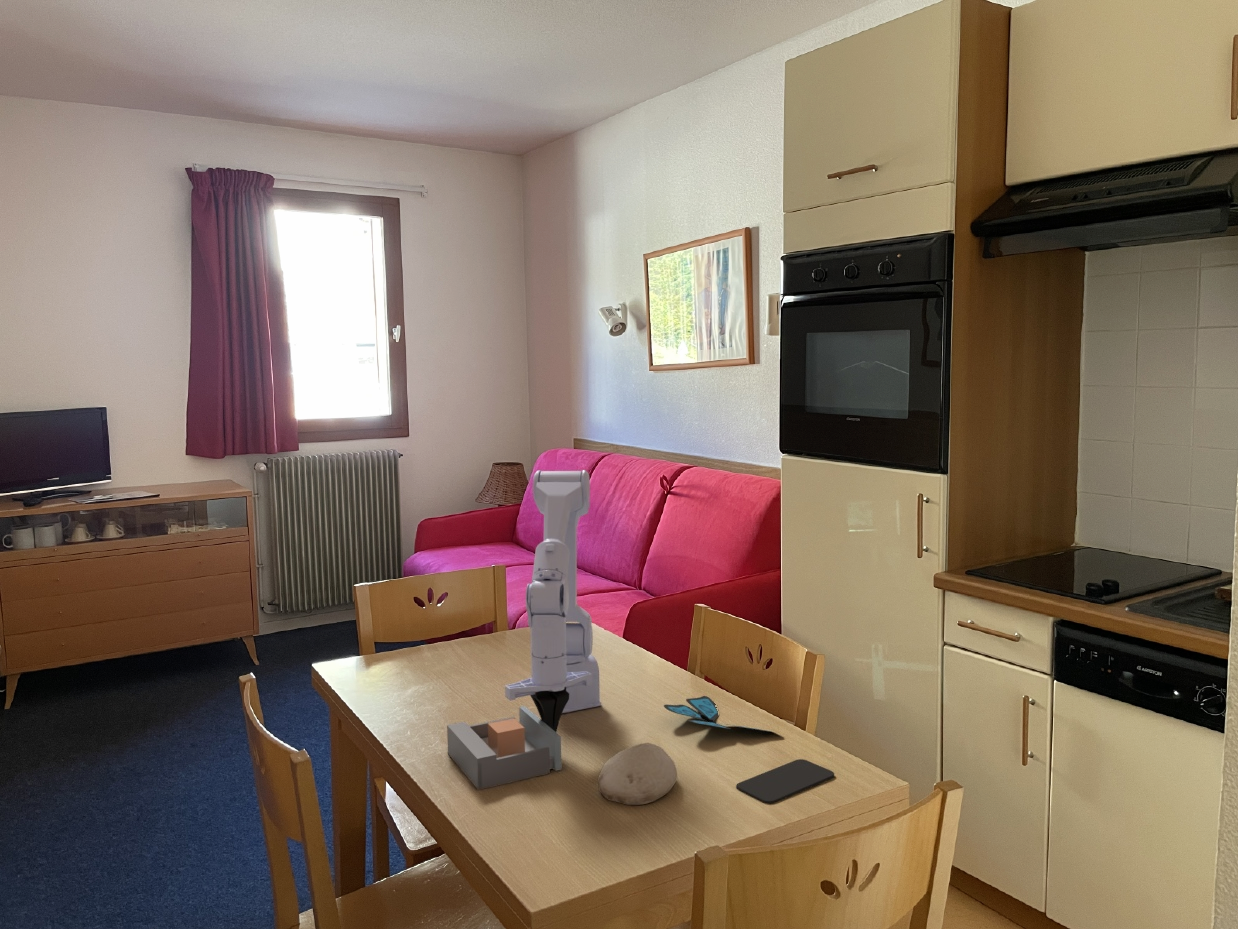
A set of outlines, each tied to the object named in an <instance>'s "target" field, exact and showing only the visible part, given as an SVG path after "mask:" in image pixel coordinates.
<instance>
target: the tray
mask: <svg viewBox="0 0 1238 929" xmlns="http://www.w3.org/2000/svg"><path fill="white" fill-rule="evenodd" d="M518 710H519V711H518V714H519V715H518V716H519V718H518V719H519V721H518V722H519V723H520V724H521V725H522V726H523V727H524V729H525V752H527V751H532V750H536V749H541V748H545V747H548V748H549V754H550V770H551V769H553V770H554V771H560V770H561V771H562V736H561V735H560V734H559V733H556V732H555V731H554V730H553V729H551V728H550V727H549V726H548V725H547V724H545V723H544V722H543V721H542V720H541V717H539V716H538V715H537V714H535V713H533V712H532V711H531V710H530V709H529V708H527V706H525V705H522V706H519V708H518ZM481 739H482V740H483V741H484V742H485V743H486V744H487V745H488V737H486V738H481Z"/></svg>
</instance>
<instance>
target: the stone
mask: <svg viewBox="0 0 1238 929" xmlns="http://www.w3.org/2000/svg"><path fill="white" fill-rule="evenodd" d="M677 771H678V770H677V767H676V764H675V762H674V760H673V759H672V757H671V756H670V755H669V754H668V753H667V751H665V749H664V748H662V747H661V746H660V745H657V744H654V743H651V742H645V743H640V744H636V745H633V746H631V747H628V748H626V749H622V750H621V751H619V752H617V753H616V754H615V755H613V756H611V757H610V758H609V759H608V760H607V761H606V762H605V763H604V764H603V766H602V768H601V771H600V773H599V776H598V780H597V785H598V791H599V792H600V793H601V795H602V796H603V797H604V798H605V799H607V800H609V801H611V802H616V803H620V804H624V805H630V806H638V805H639V806H641V805H646V804H649V803H652V802H655V801H657V800H658V799H661V797H664V796H665V795H666V794H668V793H669V792H670V791H671V789H672V788H673V787H674V785H675V783H676V781H677V779H678V772H677Z"/></svg>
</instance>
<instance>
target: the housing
mask: <svg viewBox="0 0 1238 929" xmlns="http://www.w3.org/2000/svg"><path fill="white" fill-rule="evenodd" d="M513 718H514V719H515V720H516V717H515V716H512V717H511V716H510V717H506V718H500V719H495V720H491V721H486V722H479V723H474V724H470V725H468V723H467V722H466V721H460V722H457V723H456V722H455V723H451V724H450V723H449V724H447V725H446V732H447V735H446V738H447V754H448V756H450V758H451V759H452V760H453V761H454V763H455V764H456V765H457V766H458V768H459V769H460V770H461V771H462V772H463V773H464V774H465V776H466V777H467V778H468V779H469V780H470V782H471V783H472V784H473V785H474V786H475V789H477V790H478V791H479V790H484V789H487V788H493V787H497V786H500V785H506V784H508V783H513V782H514V783H515V782H517V781H521V780H522V781H523V780H527V779H531V778H535V777H539V776H543V775H549V774H551V773H550V772H551V769H550V754H549V748H548V747H545V748H541V749H536V750H532V751H527V752H522V753H518V754H513V755H508V756H504V757H499V758H497V756H496V754H495V753H494V752H493V751H492V749H491V748H490V747H489V746H488V745H487V744H486V743H485V742H484V741H483V740H482V739H481V738H486V737H488V723H493V722H498V721H503V720H508V719H513ZM548 773H549V774H548Z"/></svg>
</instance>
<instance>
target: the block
mask: <svg viewBox="0 0 1238 929" xmlns="http://www.w3.org/2000/svg"><path fill="white" fill-rule="evenodd" d="M488 746H489V747H490V748H491V749H492V751H493V752H494V753H495V754H496V756H497V758H499V757H504V756H508V755H513V754H518V753H522V752H525V729H524V727H523V726H522V725H521V724H520V722H519V721H518V720H517V719H516V718H515V719H514V718H513V719H508V720H503V721H498V722H493V723H488Z"/></svg>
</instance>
